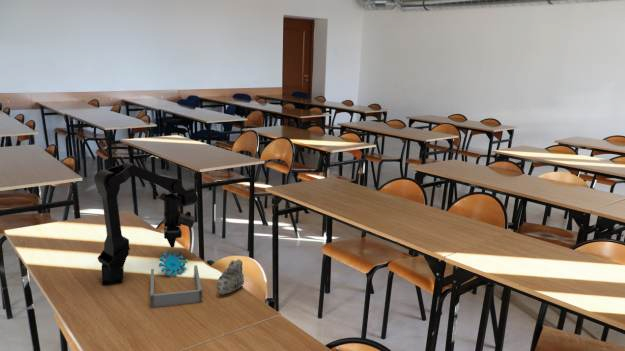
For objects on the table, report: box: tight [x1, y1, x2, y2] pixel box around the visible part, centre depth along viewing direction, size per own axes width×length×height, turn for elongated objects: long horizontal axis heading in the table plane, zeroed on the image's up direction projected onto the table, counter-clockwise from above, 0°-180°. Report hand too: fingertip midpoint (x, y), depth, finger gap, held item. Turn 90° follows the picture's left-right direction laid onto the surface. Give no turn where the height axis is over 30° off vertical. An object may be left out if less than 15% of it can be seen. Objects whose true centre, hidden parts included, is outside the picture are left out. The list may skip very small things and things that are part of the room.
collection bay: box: [149, 264, 203, 308], centre depth 159 cm, size 16×20×4 cm
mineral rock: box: [215, 259, 245, 295], centre depth 162 cm, size 13×11×10 cm
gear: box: [158, 250, 189, 277], centre depth 173 cm, size 11×6×10 cm
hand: (172, 247), depth 181 cm, fingers closed
